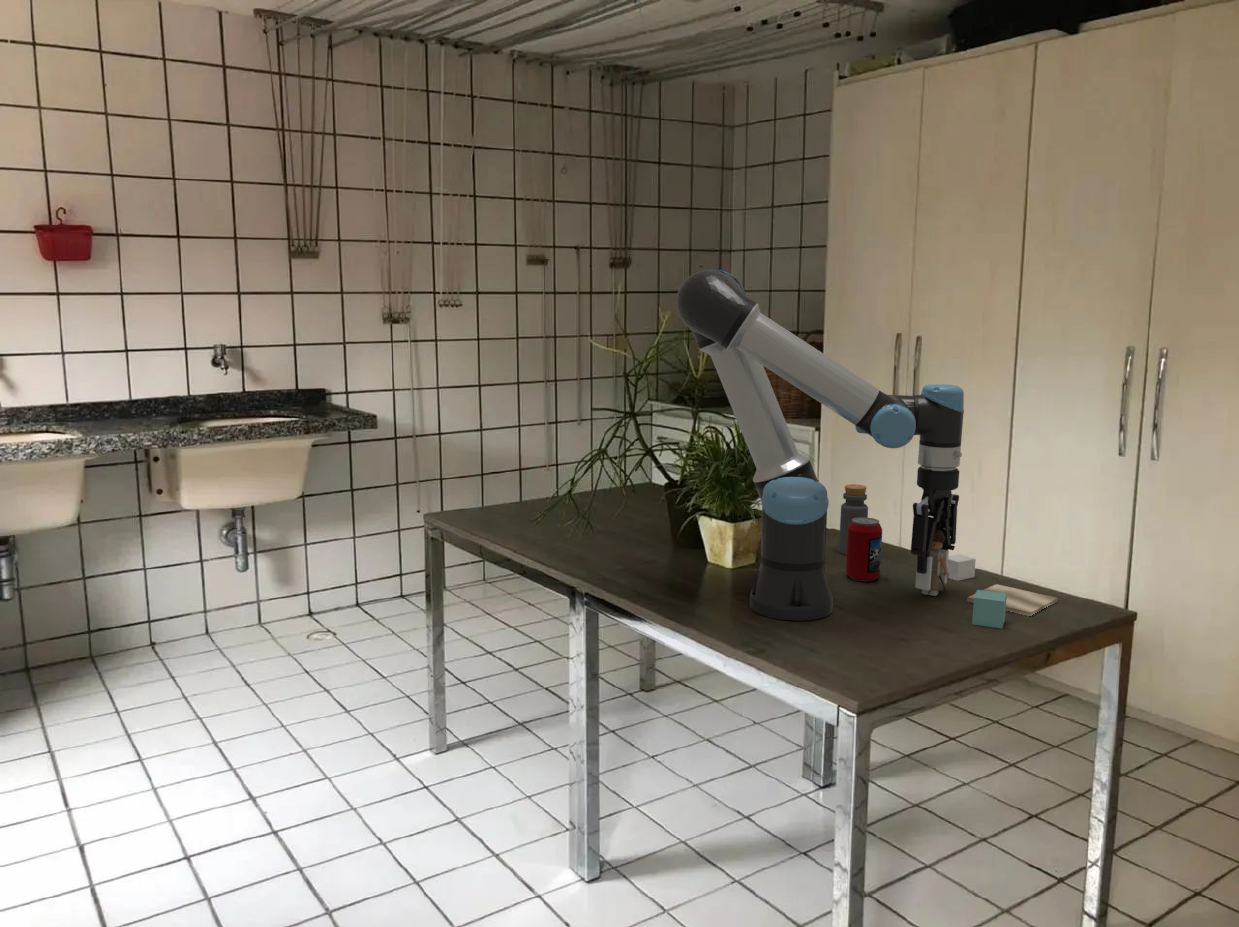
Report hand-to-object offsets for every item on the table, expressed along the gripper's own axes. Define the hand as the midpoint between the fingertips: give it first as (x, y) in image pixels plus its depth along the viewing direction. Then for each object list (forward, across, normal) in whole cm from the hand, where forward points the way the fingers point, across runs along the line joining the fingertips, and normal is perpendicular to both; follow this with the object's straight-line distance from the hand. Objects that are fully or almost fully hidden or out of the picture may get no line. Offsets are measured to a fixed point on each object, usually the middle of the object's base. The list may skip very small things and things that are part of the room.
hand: (931, 585), depth 192 cm
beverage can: (+2, 0, +15) cm, 15 cm away
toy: (+2, 0, 0) cm, 2 cm away
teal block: (+2, -7, -15) cm, 17 cm away
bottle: (+2, +15, +27) cm, 31 cm away
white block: (+2, +15, +2) cm, 15 cm away
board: (+2, +7, -13) cm, 15 cm away
